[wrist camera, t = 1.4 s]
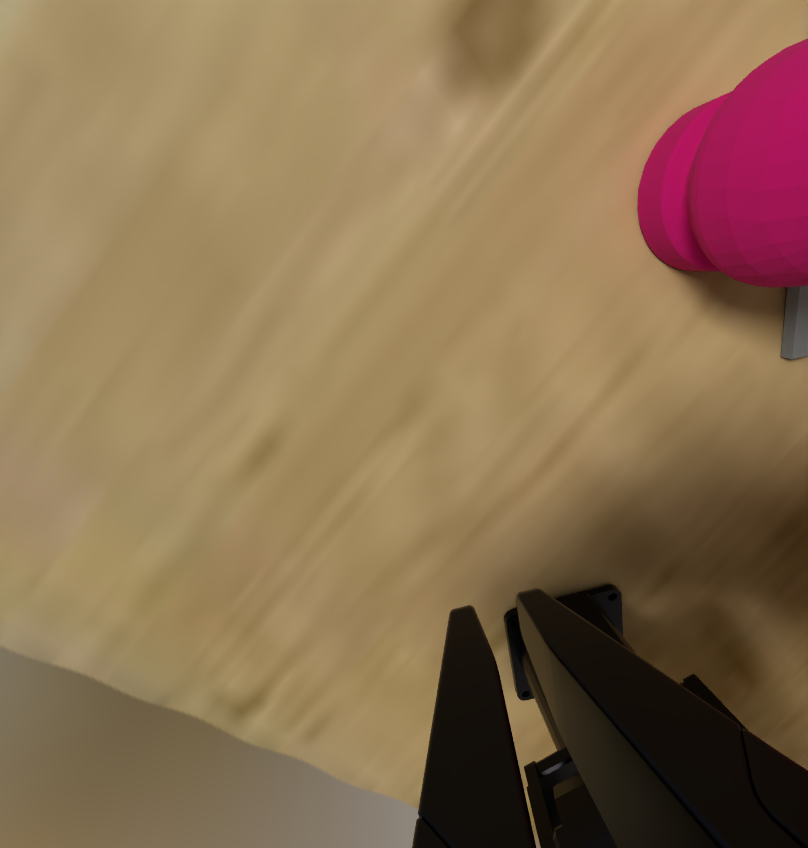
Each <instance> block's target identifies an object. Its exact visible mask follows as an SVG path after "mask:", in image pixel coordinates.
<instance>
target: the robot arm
mask: <svg viewBox="0 0 808 848" xmlns="http://www.w3.org/2000/svg"><path fill="white" fill-rule="evenodd" d="M610 594H611V595H610ZM516 603H517V608H516V609H512V610H510V611H508V612H507V613H506V614H505V615H504V623H505V629H506V636H507V642H508V648H509V654H510V660H511V666H512V673H513V679H514V685H515V691H516V693H517V696H518V698H519V699H520V700H529V699H533V698H535V700H536V702H537V705H538V707H539V709H540V712H541V714H542V716H543V719H544V721H545V723H546V726H547V728H548V730H549V733H550V735H551V737H552V739H553V742H554V744H555V746H556V749H557V752H555V753H553V754H551V755H549V756H547V757H546V758H544V759H542V760H540V761H538V762H535V761H533V762H531V763H529V764H528V765H526V766H524V770H525V774H526V778H527V782H528V787H527V792H528V796H529V800H530V804H531V808H532V813H533V817H534V821H535V825H536V830H537V834H538V838H539V842H540V846H541V848H808V770H806V769H805V768H803V767H801V766H800V765H798V764H797V763H795V762H794V761H792V760H791V759H789V758H788V757H786V756H785V755H783V754H782V753H780V752H779V751H777V750H776V749H774V748H773V747H771V746H770V745H768V744H767V743H765V742H764V741H762V740H761V739H759V738H758V737H757V736H755V735H754V734H752V733H751V732H749V731H748V730H747V729H746V728H745V727H744V726H743V724H742V723H741V722H740V721H739V720H738V719H737V718H736V717H735V716H734V715H733V714H732V713H731V712H730V711H729V710H728V709H727V708H726V707H725V706H724V705H723V704H722V702H721V701H720V700H719V699H718V698H717V697H716V696H715V695H714V694H713V693H712V692H711V691H710V690H709V689H708V688H707V687H706V686H705V685H704V684H703V683H702V682H701V681H700V679H699V678H698V677H697V676H696V675H695V674H692V675H690V676H688V677H686V678H685V679H683V681H684V682H683V683H681V684H679V683H677V682H676V681H674V680H673V679H671V678H670V677H668V676H667V675H665V674H664V673H662V672H661V671H660V670H658V669H657V668H655V667H654V666H652V665H651V664H649V663H648V662H646V661H645V660H643V659H642V658H640V657H639V656H638V655H636V653H635V652H634V651H633V649H632V648H631V646H630V645H629V644H628V642H627V641H626V640H625V638H624V637H623V625H622V602H621V592H620V591H619V590H618V589H617V587H616V586H614V585H606V586H602V587H598V588H594V589H590V590H586V591H582V592H578V593H574V594H571V595H567V596H563V597H559V598H555V599H554V598H553V597H551V596H550V595H548V594H547V593H545V592H544V591H542V590H541V589H538V588H535V589H531V590H527V591H523V592H519V593H518V594H517V595H516ZM514 618H516V619H515V620H512V619H514ZM418 815H419V818H418V819H417V821H416V827H415V833H414V839H413V846H412V848H536V844H535V840H534V835H533V830H532V826H531V821H530V816H529V812H528V807H527V802H526V797H525V793H524V788H523V783H522V779H521V774H520V769H519V765H518V760H517V755H516V751H515V746H514V741H513V736H512V732H511V727H510V722H509V718H508V713H507V708H506V704H505V699H504V694H503V690H502V685H501V680H500V675H499V671H498V667H497V664H496V661H495V658H494V655H493V652H492V650H491V647H490V645H489V643H488V640H487V638H486V635H485V633H484V631H483V628H482V626H481V623H480V621H479V618H478V616H477V614H476V611H475V609H474V607H473V606H471V605H468V606H464V607H460V608H456V609H453V610H452V611H451V612H450V615H449V621H448V627H447V633H446V640H445V646H444V652H443V659H442V665H441V671H440V678H439V684H438V690H437V697H436V703H435V709H434V715H433V722H432V728H431V734H430V741H429V747H428V753H427V760H426V766H425V772H424V778H423V785H422V791H421V797H420V804H419V810H418Z"/></svg>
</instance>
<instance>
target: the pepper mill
mask: <svg viewBox="0 0 808 848" xmlns="http://www.w3.org/2000/svg"><path fill="white" fill-rule="evenodd" d="M638 216H639V223H640V227H641V230H642V233H643V235H644V238H645V240H646V242H647V244H648V246H649V247H650V248H651V250H652V251H653V252H654V253H655V255H656V256H658V257H659V258H660V259H661V260H662V261H664V262H665V263H667V264H668V265H670V266H672V267H675V268H678V269H681V270H687V271H722V272H723V273H725V274H726V275H728V276H729V277H731V278H733V279H735V280H738V281H741V282H744V283H747V284H750V285H754V286H761V287H795V286H807V285H808V39H806V40H803V41H801V42H799V43H796V44H794V45H792V46H789V47H787V48H785V49H784V50H782V51H780V52H779V53H777V54H776V55H774V56H773V57H771V58H769V59H768V60H767V61H765V62H764V63H763V64H761V65H760V66H758V67H757V68H756V69H754V70H753V71H752V72H751V73H750V74H749V75H748V76H747V77H746V78H745V79H744V80H743V81H741V82H740V83H739V84H738V85H737V86H736V88H735V89H734V90H733V91H732V92H730V93H727V94H725V95H723V96H720V97H718V98H716V99H714V100H711V101H709V102H707V103H705V104H703V105H700V106H698V107H696V108H694V109H692V110H691V111H689V112H687V113H686V114H684V115H683V116H681V117H680V118H679V119H678V120H677V121H676V122H675V123H674V124H673V125H672V126H670V127H669V128H668V129H667V131H666V132H665V133H664V134H663V136H662V137H661V138H660V139H659V141H658V142H657V144H656V145H655V147H654V149H653V150H652V152H651V154H650V156H649V158H648V160H647V162H646V165H645V167H644V170H643V174H642V177H641V181H640V185H639V189H638Z"/></svg>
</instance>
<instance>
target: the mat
mask: <svg viewBox="0 0 808 848" xmlns="http://www.w3.org/2000/svg"><path fill="white" fill-rule="evenodd" d="M804 356H808V285H807V286H795V287H787V296H786V307H785V317H784V328H783V339H782V349H781V357H784V358H788V359H796V358H800V357H804Z"/></svg>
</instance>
